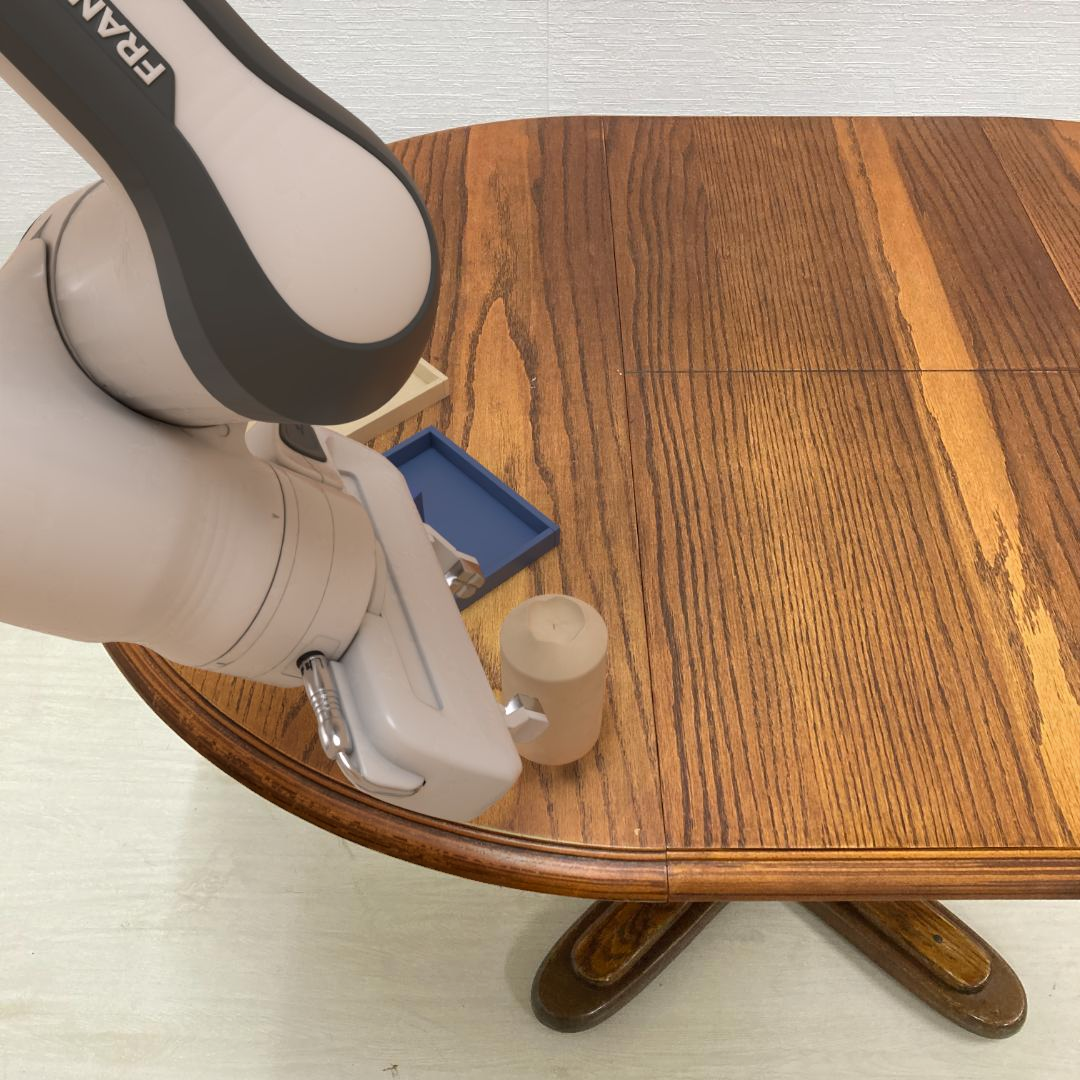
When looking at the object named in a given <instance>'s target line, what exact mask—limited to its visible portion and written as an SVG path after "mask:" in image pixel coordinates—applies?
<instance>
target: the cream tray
mask: <svg viewBox="0 0 1080 1080" xmlns="http://www.w3.org/2000/svg"><path fill="white" fill-rule="evenodd" d="M450 395H451V390H450V379H449V377H448V376H446V374H444V373H442V371H440V370H439V369H437V367H435V366H433V365H432V364H431V363H429V362H428V361H427V360H425V358H423V357H421V359H420V360H419V362H418V364H417V366H416V368H415V369H414V371H413V373H412V374H411V376H410V377H409V379H408V380H407V382H406V383H405V384H404V386H403V387H402V388H401V389H400V391H399V392H398V393H397V394H396V395H395V396H394V397H393V398H392V399H391V400H390V401H389V402H387V403H386V404H385V405H384V406H382V407H381V408H380V409H378V410H377V411H375V412H373V413H372V414H370V415H368V416H366V417H364V418H361V419H359V420H356V421H353V422H350V423H346V424H341V425H332V426H322V427H325V428H328V429H330V430H333V431H335V432H337V433H340V434H342V435H344V436H346V437H348V438H351V439H353V440H355V441H357V442H359V443H361V444H363V445H365V444H367V443H368V442H370V441H371V440H373V439H375V438H376V437H378V436H380V435H382V434H384V433H385V432H387V431H389V430H390V429H392V428H394V427H396V426H398V425H399V424H402V422H404V421H406V420H408V419H410V418H411V417H413V416H416V415H417V414H419V413H421V412H423V411H424V410H427V408H429V407H431V406H433V405H435V404H436V403H438V402H440V401H441V400H443V399H445V398H447V397H449V396H450ZM256 422H257V421H250V422H248V425H247V428H246V432H245V434H246V433H247V432H248V431H249V430H250V428H251V427H252V426H253V425H254V424H255V423H256ZM313 426H320V425H313Z"/></svg>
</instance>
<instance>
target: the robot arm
mask: <svg viewBox="0 0 1080 1080" xmlns="http://www.w3.org/2000/svg"><path fill="white" fill-rule="evenodd" d="M0 78H1V79H2V80H3V81H4V82H5V83H6V84H7V85H8V86H9V87H10V88H11V89H12V90H13V91H14V92H15V93H16V94H17V95H18V96H19V97H20V98H21V99H22V100H23V101H24V102H25V103H26V104H27V105H29V107H31V109H32V110H33V111H34V112H35V113H37V115H38V116H40V117H41V118H42V120H44V122H46V124H48V125H49V127H51V128H52V129H53V130H54V131H55V132H56V133H57V135H59V136H60V137H61V138H62V139H63V140H64V142H66V143H67V144H68V146H70V147H71V148H72V149H73V150H74V151H75V152H76V153H77V154H78V155H79V156H80V157H81V158H82V159H83V160H84V161H85V162H86V163H87V164H88V165H89V166H90V167H91V168H92V169H93V171H95V172H96V174H98V176H99V177H100V178H99V179H97V180H95V181H93V182H90V183H89V184H86V185H84V186H82V187H80V188H78V189H76V190H74V191H72V192H70V193H69V194H67V195H65V196H63V197H61V198H60V199H58V200H57V201H55V202H54V203H52V205H50V206H49V207H47V209H45V210H44V211H43V212H42V213H41V214H40V215H38V217H37V218H36V219H35V220H34V221H33V222H32V223H31V224H30V225H29V227H28V228H27V229H26V231H25V233H24V234H23V235H22V237H21V239H20V241H19V243H18V244H17V246H16V247H15V249H14V250H13V252H12V253H11V254H10V256H9V257H8V259H6V261H5V262H4V264H3V265H2V266H1V268H0V623H3V624H6V625H11V626H13V627H18V628H20V629H21V628H22V629H26V630H29V631H34V632H37V633H41V634H44V635H49V636H54V637H57V638H62V639H66V640H71V641H75V642H81V643H87V644H102V643H104V644H105V643H118V642H119V643H121V642H123V643H130V644H136V645H140V646H142V647H144V648H147V649H150V650H151V651H153V652H154V653H156V654H157V655H159V656H160V657H162V658H164V659H166V660H168V661H170V662H172V663H176V664H177V665H181V666H184V667H189V668H192V669H193V668H194V669H198V670H203V671H208V672H212V673H217V674H222V675H225V676H230V677H234V678H237V679H242V680H247V681H250V682H254V683H259V684H262V685H263V684H264V685H267V686H273V687H276V688H280V689H281V688H282V689H295V688H300V687H303V686H304V690H305V694H306V696H307V698H308V701H309V704H310V706H311V708H312V710H313V712H314V715H315V719H316V723H317V735H318V739H319V742H320V745H321V748H322V750H323V752H324V754H325V755H326V757H327V758H329V760H332V761H336V764H337V766H338V767H339V769H340V771H341V772H342V774H343V775H344V777H346V779H347V781H349V782H350V783H351V784H352V785H353V786H354V788H356V789H357V790H359V791H360V792H362V793H364V794H366V795H368V796H371V797H373V798H375V799H377V800H380V801H382V802H385V803H388V804H391V805H393V806H397V807H400V808H402V809H405V810H409V811H412V812H415V813H418V814H422V815H425V816H428V817H434V818H437V819H441V820H446V821H450V822H454V823H455V822H457V823H468V822H471V821H473V820H476V819H477V818H478V817H480V816H481V815H483V814H485V812H487V811H488V810H489V809H490V808H492V807H493V806H494V805H495V804H497V803H498V802H499V801H500V800H501V799H502V798H503V797H504V796H505V795H506V794H507V793H508V792H509V791H510V790H511V789H512V787H513V786H514V785H515V784H516V782H517V780H518V779H519V777H520V776H521V774H522V773H523V762H522V759H521V755H520V754H519V753H518V751H517V749H516V746H515V744H514V742H516V743H521V744H528V743H531V742H533V741H534V740H536V739H537V738H538V737H539V736H540V735H541V734H542V733H543V732H545V731H546V730H547V729H548V728H549V725H550V723H549V721H548V719H547V717H546V715H545V713H544V711H543V709H542V707H541V704H540V702H539V700H538V698H534V697H533V698H532V699H531V698H530V697H528V696H527V695H523V694H520V693H518V694H516V695H515V696H514V697H513V698H512V699H511V700H510V701H509V703H508V705H507V707H504V705H502V702H498V700H497V698H496V695H495V693H494V691H493V689H492V686H491V684H490V681H489V679H488V677H487V674H486V672H485V669H484V667H483V665H482V662H481V660H480V657H479V655H478V652H477V649H476V647H475V646H474V643H473V640H472V639H471V635H470V633H469V630H468V629H467V626H466V624H465V620H464V618H463V616H462V614H461V612H460V611H459V609H458V606H457V604H456V602H455V599H454V597H453V595H454V594H455V595H456V596H458V597H459V598H462V599H464V598H469V597H470V596H472V595H473V594H474V593H475V592H476V589H477V588H478V587H481V586H482V585H483V584H484V583H485V578H484V576H483V573H482V571H481V568H480V566H479V564H478V561H477V560H476V558H474V557H472V556H469V555H467V554H464V553H462V552H459V551H457V550H456V549H455V548H454V547H453V546H452V545H451V544H450V543H449V542H448V541H446V540H445V539H444V538H443V537H442V536H441V535H440V534H439V533H437V532H436V531H435V530H434V529H433V528H432V527H431V526H429V525H428V524H425V523H423V522H422V520H421V517H420V515H419V512H418V510H417V507H416V505H415V503H414V500H413V498H412V495H411V493H410V491H409V488H408V486H407V483H406V480H405V478H404V476H403V474H402V473H401V472H400V471H399V470H398V469H397V468H396V467H395V466H394V465H393V464H392V463H391V462H390V461H389V460H388V459H387V458H386V457H384V456H383V455H382V453H381V452H378V450H377V451H376V450H375V449H373V448H371V447H369V446H367V445H365V444H361V443H359V442H357V441H355V440H353V439H351V438H348V437H346V436H344V435H342V434H340V433H337V432H335V431H333V430H330V429H328V428H325V427H322V426H332V425H341V424H346V423H350V422H353V421H356V420H359V419H361V418H364V417H366V416H368V415H370V414H372V413H373V412H375V411H377V410H378V409H380V408H381V407H382V406H384V405H385V404H386V403H387V402H389V401H390V400H391V399H392V398H393V397H394V396H395V395H396V394H397V393H398V392H399V391H400V389H401V388H402V387H403V386H404V384H405V383H406V382H407V380H408V379H409V377H410V376H411V374H412V373H413V371H414V369H415V368H416V366H417V364H418V362H419V360H420V359H421V358H423V354H424V353H425V350H426V347H427V345H428V343H429V340H430V337H431V334H432V331H433V329H434V328H433V327H434V324H435V320H436V316H437V312H438V306H439V300H440V291H441V290H440V289H441V259H440V251H439V245H438V239H437V235H436V231H435V227H434V224H433V221H432V217H431V215H430V212H429V210H428V207H427V204H426V202H425V200H424V198H423V196H422V194H421V192H420V189H419V188H418V186H417V184H416V182H415V181H414V179H413V178H412V176H411V174H410V173H409V171H408V170H407V168H406V167H405V165H404V164H403V163H402V161H401V160H400V159H399V157H398V156H397V155H396V154H395V153H394V152H393V151H392V149H391V148H390V147H389V146H388V145H387V144H386V143H385V142H384V140H382V139H381V137H380V136H379V135H378V134H376V132H374V131H373V129H372V128H370V127H369V126H368V125H367V124H366V123H365V122H363V120H361V119H360V118H358V117H357V116H356V115H355V114H354V113H352V112H351V111H350V110H349V109H347V108H346V107H345V106H343V105H342V104H340V103H339V102H338V101H337V100H335V99H334V98H332V97H331V96H329V95H328V94H327V93H325V92H324V91H323V90H321V89H320V88H319V87H317V86H316V85H315V84H314V83H312V82H311V81H309V80H308V79H307V78H305V77H304V76H303V75H302V74H300V73H299V72H298V71H297V70H295V69H294V68H293V66H291V65H290V64H289V63H287V61H285V60H284V59H283V58H282V57H280V55H279V54H278V53H276V52H275V51H274V50H273V48H271V46H269V45H268V44H267V43H266V42H265V41H264V40H263V39H262V38H261V36H259V34H257V33H256V32H255V30H253V28H252V27H250V25H249V24H248V23H247V22H246V21H245V19H243V18H242V17H241V16H240V14H239V13H238V12H237V11H236V10H235V9H234V8H233V6H232V5H231V4H230V3H229V2H228V1H227V0H0ZM250 421H257V422H256V423H255V424H254V425H253V426H252V427H251V428H250V430H249V431H248V432H247V433H246V434H245V432H246V428H247V425H248V422H250ZM313 425H320V426H313Z"/></svg>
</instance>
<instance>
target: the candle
mask: <svg viewBox="0 0 1080 1080" xmlns="http://www.w3.org/2000/svg"><path fill="white" fill-rule="evenodd" d="M608 648H609V632H608V627H607V625H606V621H605V620H604V618H603V617H602V615H601V614H600V613H599V612H598V611H597V609H596V608H595V607H593V606H592V605H590V604H589V603H587V602H586V601H584V600H582V599H580V598H578V597H574V596H571V595H568V594H563V593H562V594H561V593H545V594H540V595H539V594H538V595H536V596H532V597H529V598H527V599H524V600H523V601H521V602H520V603H518V604H517V605H515V606H514V607H513V608H512V609H511V610H510V611H509V612H508V613H507V615H506V616H505V618H504V619H503V621H502V624H501V626H500V630H499V658H500V676H501V677H500V679H501V680H500V681H501V704H502V705H504V707H507V705H508V703H509V701H510V700H511V699H512V698H513V697H514V696H515V695H516V694H518V693H520V694H523V695H527V696H528V697H530V698H531V699H532V698H533V697H534V698H538V700H539V702H540V704H541V707H542V709H543V711H544V713H545V715H546V717H547V719H548V721H549V723H550V725H549V728H548V729H547V730H546V731H545V732H543V733H542V734H541V735H540V736H539V737H538V738H537V739H536V740H534V741H533V742H531V743H528V744H521V743H516V742H514V744H515V746H516V749H517V751H518V753H519V756H520V757H522V758H524V759H526V760H528V761H530V762H532V763H535V764H538V765H543V766H563V765H567V764H570V763H574V762H575V761H577V760H579V759H581V758H583V757H584V756H586V755H587V754H588V753H589V752H590V751H591V750H592V749H593V748H594V746H595V745H596V743H597V742H598V739H599V738H600V734H601V729H602V722H603V712H604V699H605V687H606V685H605V684H606V676H607V675H606V673H607V663H608Z"/></svg>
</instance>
